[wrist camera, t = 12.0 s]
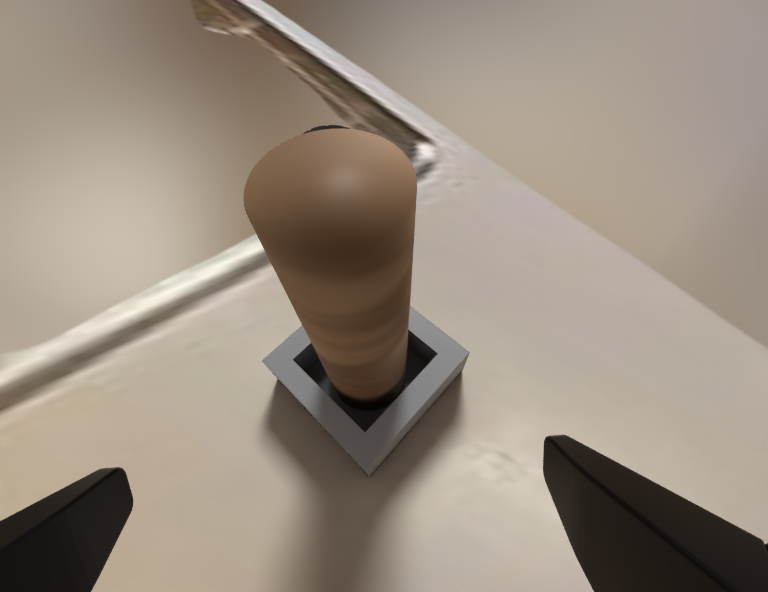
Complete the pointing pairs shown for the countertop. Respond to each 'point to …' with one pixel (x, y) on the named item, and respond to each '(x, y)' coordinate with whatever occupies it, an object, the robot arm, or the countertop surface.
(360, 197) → the peg
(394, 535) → the countertop surface
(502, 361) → the countertop surface
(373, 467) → the pocket block
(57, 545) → the robot arm
